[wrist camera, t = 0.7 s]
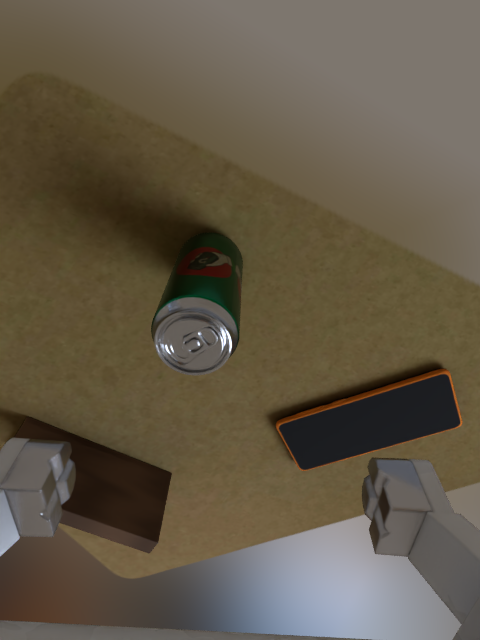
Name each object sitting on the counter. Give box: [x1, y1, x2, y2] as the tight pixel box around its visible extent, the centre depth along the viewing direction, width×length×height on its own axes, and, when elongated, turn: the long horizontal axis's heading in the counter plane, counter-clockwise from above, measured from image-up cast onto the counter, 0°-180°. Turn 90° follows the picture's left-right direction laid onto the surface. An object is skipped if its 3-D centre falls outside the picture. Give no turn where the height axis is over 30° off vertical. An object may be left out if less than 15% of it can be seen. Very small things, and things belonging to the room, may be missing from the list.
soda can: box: [151, 233, 243, 375], centre depth 29 cm, size 5×5×12 cm
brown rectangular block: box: [14, 417, 172, 553], centre depth 43 cm, size 16×5×8 cm, turn 60°
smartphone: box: [276, 369, 462, 471], centre depth 42 cm, size 8×17×1 cm, turn 114°
